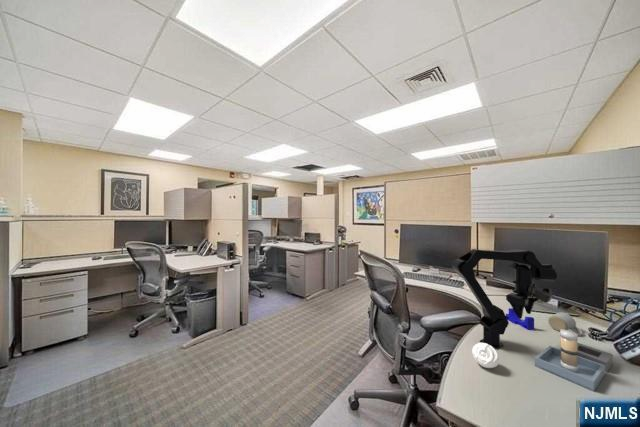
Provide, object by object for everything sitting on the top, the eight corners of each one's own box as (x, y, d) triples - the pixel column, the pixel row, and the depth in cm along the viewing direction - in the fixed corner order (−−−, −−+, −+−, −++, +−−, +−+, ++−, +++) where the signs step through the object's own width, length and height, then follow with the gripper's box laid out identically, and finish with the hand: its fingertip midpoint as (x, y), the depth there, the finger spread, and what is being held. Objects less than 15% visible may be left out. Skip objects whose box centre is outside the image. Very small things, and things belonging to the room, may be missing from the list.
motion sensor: (469, 364, 83) (469, 343, 83) (476, 356, 88) (476, 336, 88) (495, 376, 77) (495, 353, 77) (502, 367, 81) (502, 346, 82)
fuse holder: (606, 372, 79) (606, 362, 79) (565, 357, 88) (565, 348, 88) (612, 363, 84) (612, 354, 84) (573, 349, 93) (573, 341, 93)
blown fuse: (570, 372, 78) (569, 335, 78) (557, 364, 82) (556, 329, 83) (581, 372, 78) (581, 335, 79) (568, 364, 82) (567, 329, 83)
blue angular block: (505, 319, 122) (505, 308, 122) (514, 319, 121) (514, 308, 121) (524, 330, 110) (524, 317, 110) (534, 330, 109) (534, 318, 109)
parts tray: (593, 391, 70) (593, 381, 70) (534, 365, 82) (534, 357, 82) (605, 374, 78) (605, 365, 78) (550, 353, 90) (549, 345, 90)
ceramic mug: (547, 327, 112) (547, 312, 112) (554, 324, 115) (555, 309, 115) (577, 338, 102) (578, 321, 102) (585, 335, 105) (585, 318, 105)
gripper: (541, 287, 84) (541, 329, 84) (557, 281, 93) (558, 318, 93) (505, 280, 94) (505, 317, 93) (523, 275, 103) (523, 309, 103)
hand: (524, 315), depth 95 cm, fingers open, 9 cm apart
